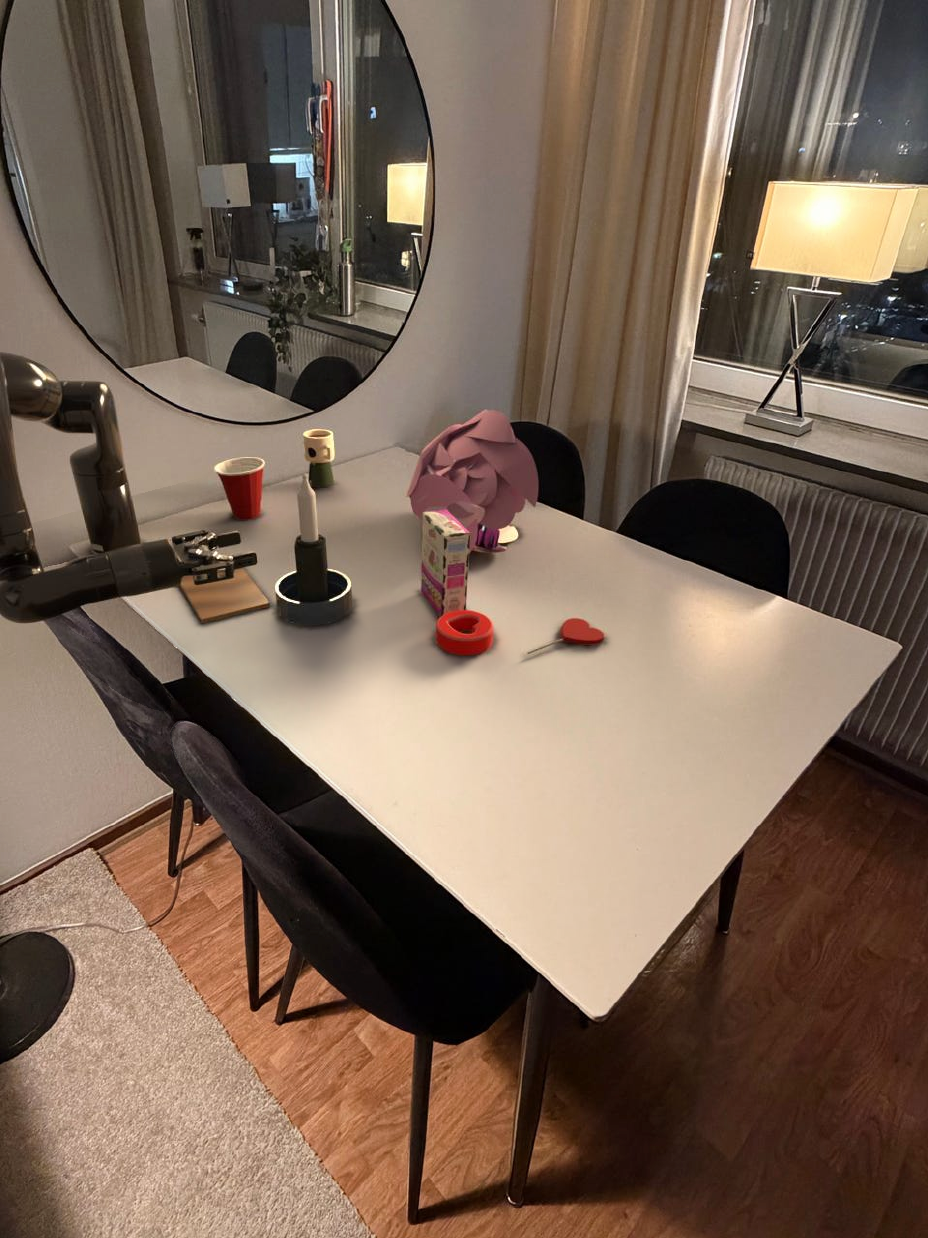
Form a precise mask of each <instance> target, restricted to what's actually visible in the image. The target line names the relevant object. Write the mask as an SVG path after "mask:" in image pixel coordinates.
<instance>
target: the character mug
mask: <svg viewBox="0 0 928 1238" xmlns="http://www.w3.org/2000/svg"><path fill="white" fill-rule="evenodd" d="M302 436H303V437H302V439H303V440H302V441H303V442H302V443H303V446H304V447H303V448H304V459H305V461H306V462H309V464H308V465H309V466H308V482H310V487H313V488H326V487H328V486H331V485H334V483H335V479H334V473H333V468H332V464H331V461H333V460H334V459H335V442H334V432H333V431H331V430H328V429H321V428H320V429H319V428H314V429H309V430H306V431H304V432H303V434H302Z"/></svg>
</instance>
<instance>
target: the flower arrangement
mask: <svg viewBox="0 0 928 1238" xmlns="http://www.w3.org/2000/svg"><path fill="white" fill-rule="evenodd" d="M405 497H406V498H408V497H409V500H410V507H411V511H412V512H413V514H414V515H415V517H417V518H418V519H419V520H420V521H421V522H422V521H423V520H422V519H423V514H422V513H423V512H430V511H437V510H447V511H448V512H449V513H450V514H451V515H452V516H453V517H454V518H455V519H456V520H457V521H458V522H459V523H460V524H461V525H462V526H463V527H464V528H465V529H466V530H467V531H469V532H470V547H469V554H471V552H472V551H474V552H479V553H489V554H492V553H494V554H495V553H504V552H506V551H507V547H506V546H502V545H501V544H504V543H505V544H506V543H511V542H513V541H515V540H516V539H518V538H519V533H518V530H517V529H516V528H515V526H514V525H513V526H510V524H511V523H512V522H513V520H514V519H515V516H516V514H519V513H522V511H524V508H525V506H526V502H528V503H529V504H530V505H531V506H532V507H533V508H536V505H537V503H538V497H539V474H538V469H537V465H536V463H535V460H534V457H533V455H532V453H531V452H530V450H529V448H528V447H527V446H526V445H525V444H524V443H523V442H522V441H521V440H520V439H519V438H517V437H516V436H515V433H514V430H513V427H512V425H511V422H510V420H509V419H508V418H507V416H506V415H505V414H504V413H502V412H501V411H499V410H495V409H493V410H492V409H490V410H489V409H484V410H482V411H481V412H479V413H478V414H476V415H475V416H473V417H471V418H470V419H469V420H467V421H466V422H464V423H463V424H457V423H456V424H452V425H450V426H449V427H447V428H445V429H444V430H443V431H442V432H441V433H439V434H438V435H437V436H436V437H435V438H434V439H432V441H431V442H430V443H428V444H427V445H426V446H425V447H424V448H423V450H422V451H421V453H420V455H419V457H418V460H417V463H416V465H415V468H414V471H413V475H412V477H411V481H410V484H409V487H408V490H407V492H406V496H405Z"/></svg>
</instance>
